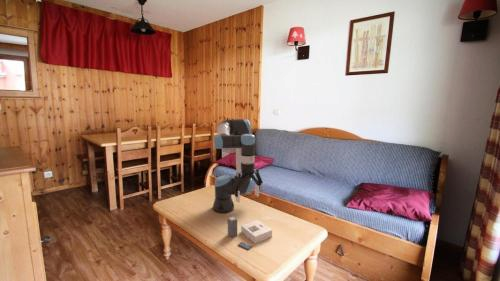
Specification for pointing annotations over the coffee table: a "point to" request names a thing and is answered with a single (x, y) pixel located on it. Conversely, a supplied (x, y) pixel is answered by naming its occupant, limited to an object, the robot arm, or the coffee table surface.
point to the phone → (244, 245)
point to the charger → (232, 227)
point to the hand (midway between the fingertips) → (247, 198)
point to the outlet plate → (256, 231)
